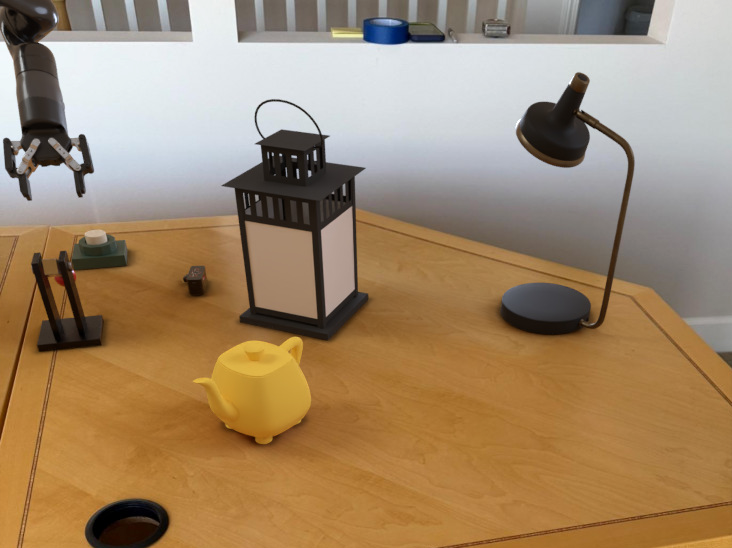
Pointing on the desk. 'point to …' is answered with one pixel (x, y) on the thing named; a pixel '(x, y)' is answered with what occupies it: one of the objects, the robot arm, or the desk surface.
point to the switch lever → (54, 270)
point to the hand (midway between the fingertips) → (54, 197)
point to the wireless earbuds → (196, 280)
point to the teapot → (259, 388)
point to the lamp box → (99, 254)
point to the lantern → (298, 236)
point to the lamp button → (95, 237)
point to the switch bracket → (68, 329)
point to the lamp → (562, 149)
